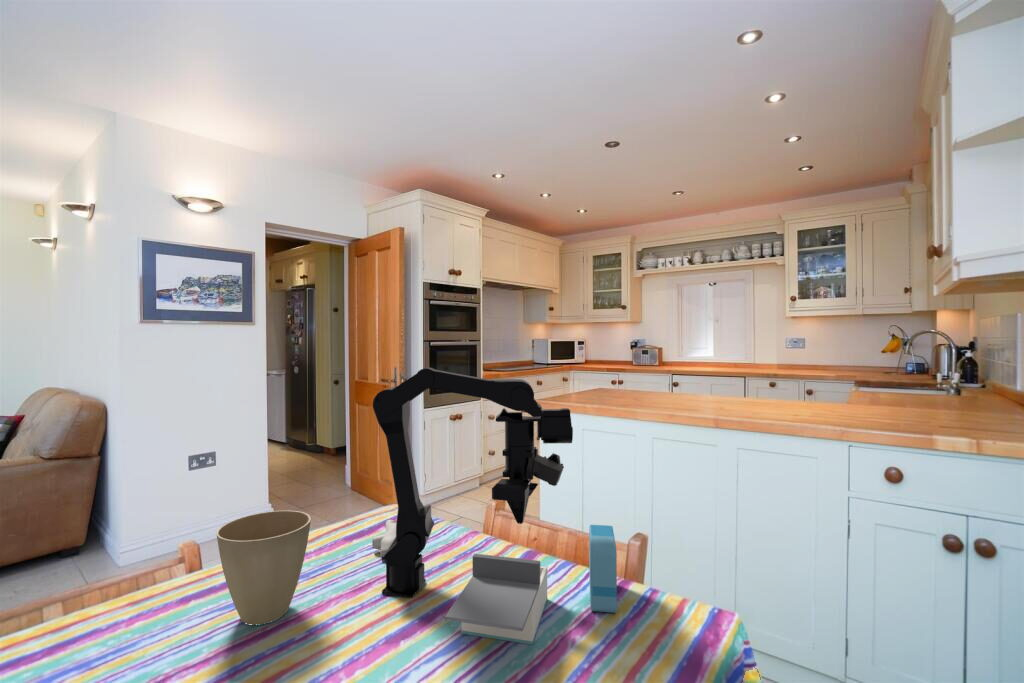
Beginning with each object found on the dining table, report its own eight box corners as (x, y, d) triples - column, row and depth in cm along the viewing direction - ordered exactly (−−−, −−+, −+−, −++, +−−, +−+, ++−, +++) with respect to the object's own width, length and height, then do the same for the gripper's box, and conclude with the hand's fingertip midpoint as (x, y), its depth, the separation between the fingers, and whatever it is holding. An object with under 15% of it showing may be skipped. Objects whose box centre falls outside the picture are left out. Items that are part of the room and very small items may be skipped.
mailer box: (461, 633, 78) (461, 597, 78) (486, 590, 92) (486, 559, 92) (532, 644, 75) (532, 606, 75) (547, 598, 89) (547, 566, 89)
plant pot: (328, 602, 88) (328, 516, 88) (255, 649, 74) (255, 547, 74) (273, 585, 94) (273, 505, 94) (196, 625, 80) (196, 532, 81)
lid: (445, 619, 71) (445, 593, 71) (474, 575, 85) (474, 553, 85) (522, 631, 68) (522, 603, 68) (540, 584, 82) (540, 560, 82)
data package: (616, 616, 83) (616, 548, 83) (590, 614, 84) (590, 546, 84) (612, 582, 95) (612, 523, 95) (589, 581, 96) (589, 522, 96)
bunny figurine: (367, 544, 104) (382, 512, 119) (367, 565, 105) (382, 531, 120) (410, 543, 105) (420, 511, 120) (410, 564, 105) (420, 530, 120)
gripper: (551, 456, 82) (552, 546, 82) (567, 436, 100) (567, 510, 100) (490, 453, 85) (491, 540, 85) (516, 434, 103) (516, 506, 103)
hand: (520, 523), depth 93 cm, fingers closed
